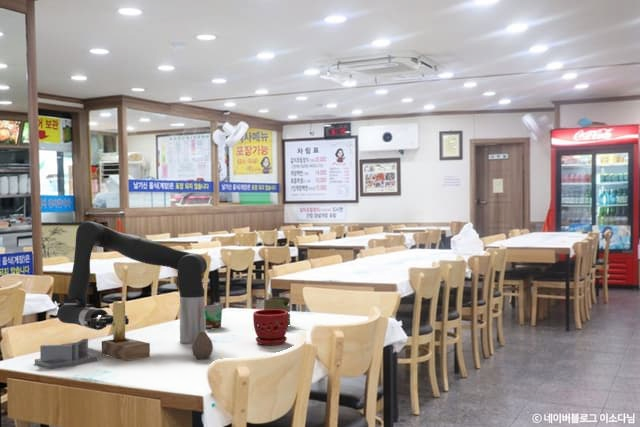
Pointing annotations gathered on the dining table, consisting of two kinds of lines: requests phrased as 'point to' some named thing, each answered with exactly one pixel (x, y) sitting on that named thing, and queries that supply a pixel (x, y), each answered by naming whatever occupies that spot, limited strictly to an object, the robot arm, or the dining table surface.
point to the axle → (119, 321)
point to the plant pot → (270, 326)
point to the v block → (64, 355)
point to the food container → (213, 315)
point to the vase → (202, 346)
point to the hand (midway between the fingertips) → (116, 322)
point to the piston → (278, 304)
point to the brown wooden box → (126, 349)
